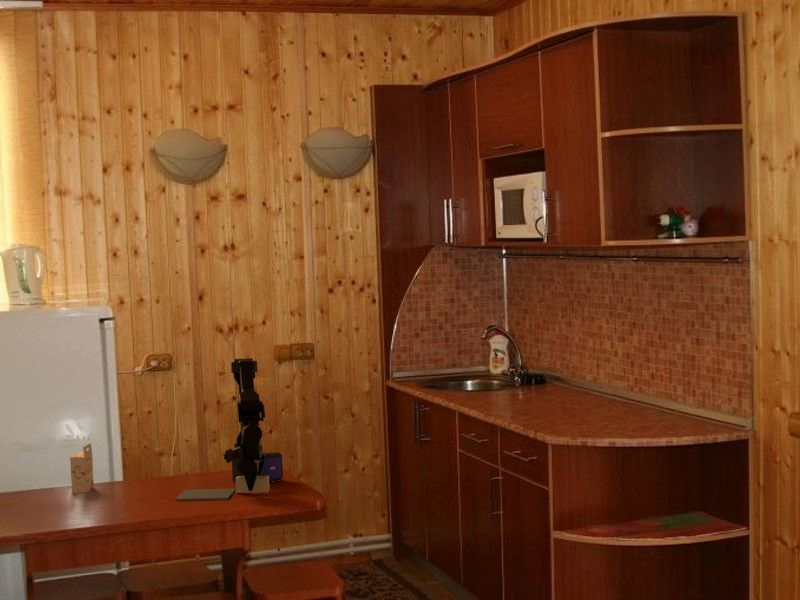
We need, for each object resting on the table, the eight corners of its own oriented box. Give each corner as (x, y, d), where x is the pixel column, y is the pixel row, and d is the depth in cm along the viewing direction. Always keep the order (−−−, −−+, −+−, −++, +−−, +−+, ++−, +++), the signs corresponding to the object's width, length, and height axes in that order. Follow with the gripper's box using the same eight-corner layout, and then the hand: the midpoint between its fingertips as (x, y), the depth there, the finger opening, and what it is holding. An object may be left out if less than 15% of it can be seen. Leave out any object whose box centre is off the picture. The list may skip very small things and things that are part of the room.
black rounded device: (232, 485, 380) (231, 456, 379) (232, 482, 384) (231, 454, 384) (283, 482, 382) (282, 453, 382) (282, 480, 387) (281, 451, 386)
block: (237, 492, 370) (237, 476, 370) (269, 491, 370) (269, 475, 370) (236, 494, 367) (235, 478, 367) (268, 493, 367) (267, 477, 367)
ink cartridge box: (78, 488, 383) (76, 442, 382) (94, 487, 383) (92, 442, 382) (71, 493, 375) (69, 447, 374) (86, 493, 374) (84, 447, 374)
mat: (184, 491, 372) (184, 489, 372) (235, 490, 372) (235, 488, 372) (175, 500, 359) (175, 498, 359) (227, 499, 359) (227, 497, 359)
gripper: (230, 434, 377) (232, 482, 378) (219, 444, 359) (221, 495, 360) (265, 433, 377) (267, 481, 378) (255, 443, 358) (257, 494, 359)
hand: (252, 488), depth 368 cm, fingers open, 8 cm apart
